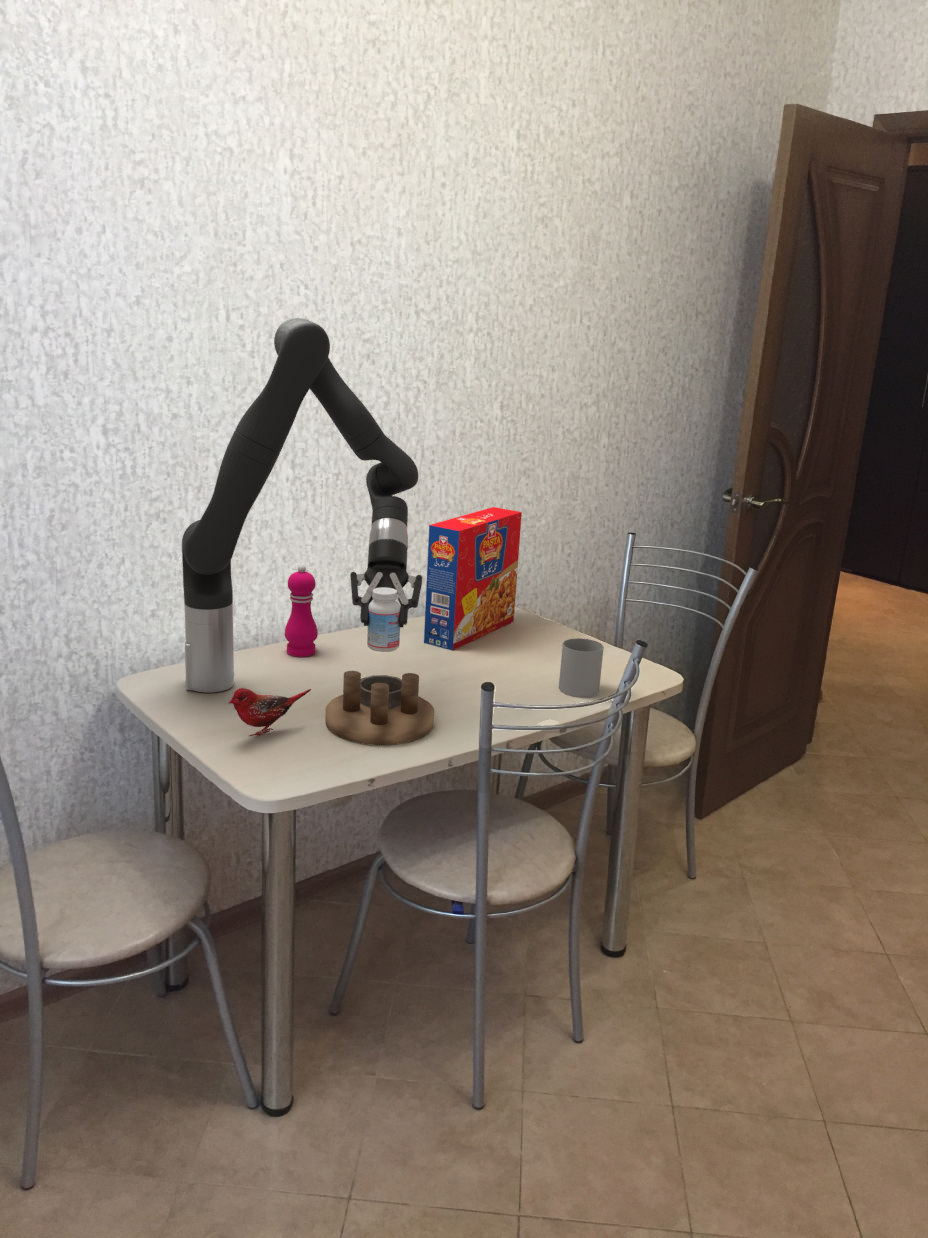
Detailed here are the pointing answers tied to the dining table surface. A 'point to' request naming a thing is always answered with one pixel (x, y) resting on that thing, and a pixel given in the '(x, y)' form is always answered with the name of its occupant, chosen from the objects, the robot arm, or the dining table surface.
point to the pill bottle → (383, 620)
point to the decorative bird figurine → (261, 707)
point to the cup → (580, 667)
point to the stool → (380, 710)
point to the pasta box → (471, 576)
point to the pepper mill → (301, 615)
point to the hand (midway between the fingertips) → (383, 624)
